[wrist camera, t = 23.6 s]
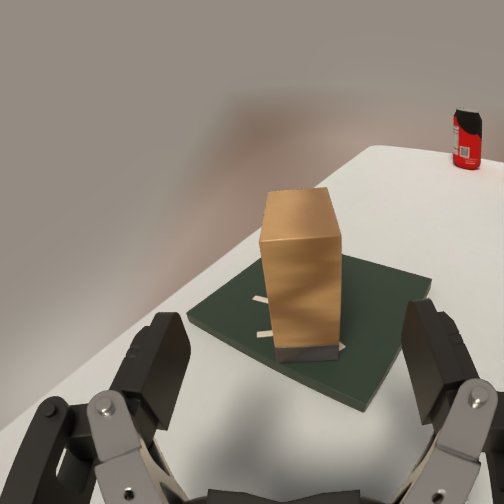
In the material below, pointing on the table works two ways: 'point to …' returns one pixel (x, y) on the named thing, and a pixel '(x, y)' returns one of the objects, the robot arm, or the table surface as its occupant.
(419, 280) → the slate board
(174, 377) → the robot arm
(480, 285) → the table surface
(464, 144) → the beverage can
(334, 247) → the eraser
